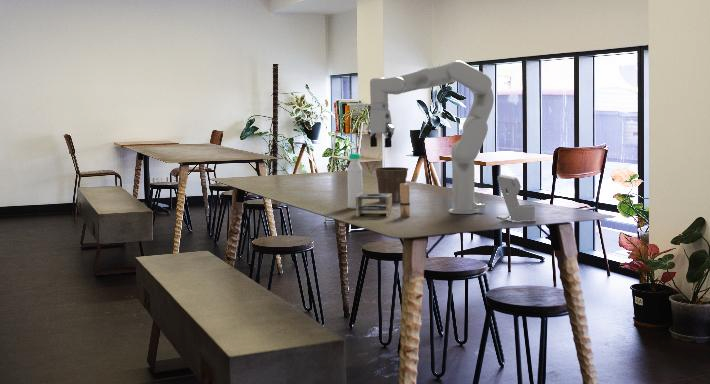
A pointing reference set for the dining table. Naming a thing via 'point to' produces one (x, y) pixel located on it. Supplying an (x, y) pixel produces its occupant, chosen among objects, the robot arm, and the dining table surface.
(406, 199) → the tan cylinder
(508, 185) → the phone holder
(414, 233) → the dining table surface
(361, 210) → the collar stand
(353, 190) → the water bottle
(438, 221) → the dining table surface
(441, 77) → the robot arm
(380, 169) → the plant pot
